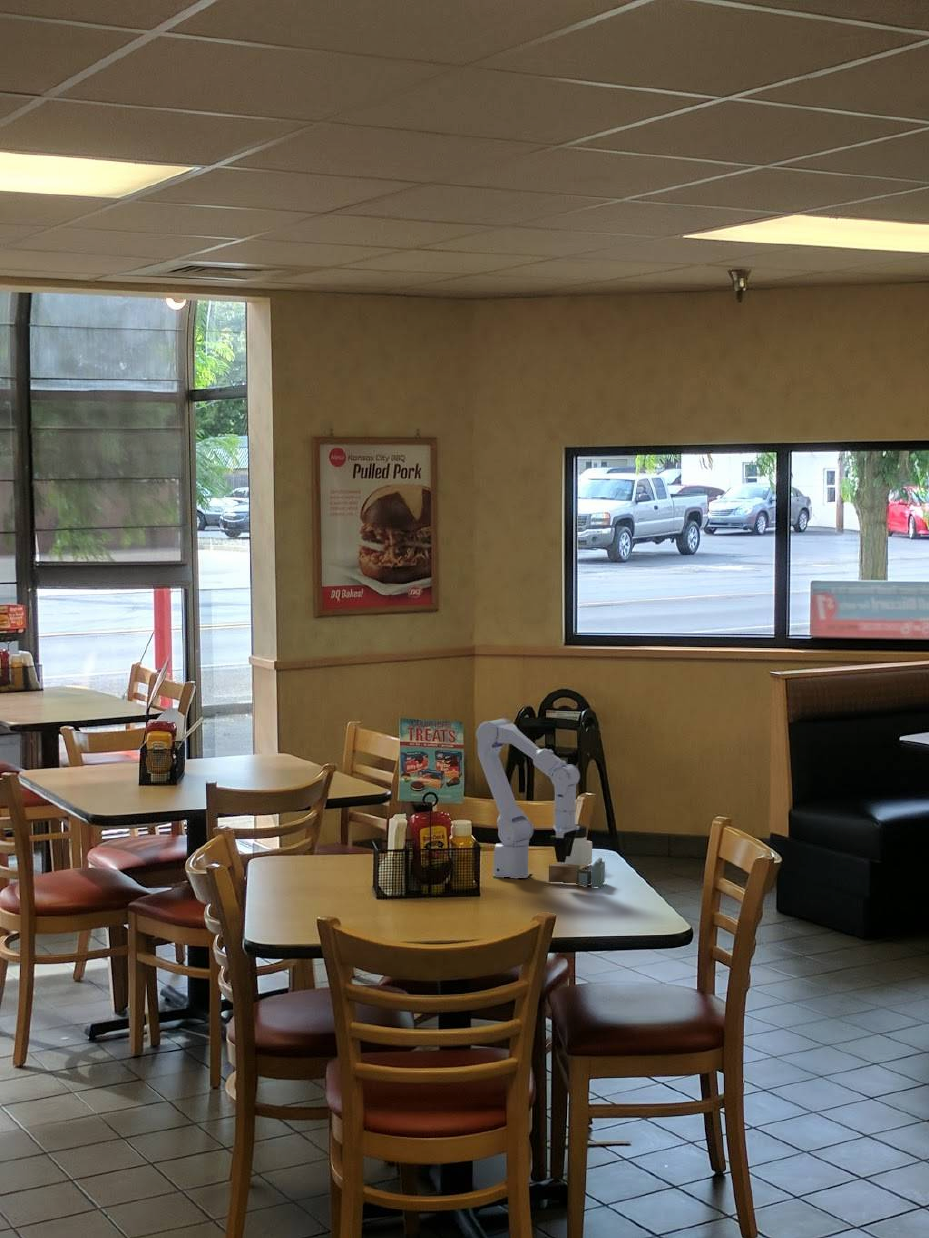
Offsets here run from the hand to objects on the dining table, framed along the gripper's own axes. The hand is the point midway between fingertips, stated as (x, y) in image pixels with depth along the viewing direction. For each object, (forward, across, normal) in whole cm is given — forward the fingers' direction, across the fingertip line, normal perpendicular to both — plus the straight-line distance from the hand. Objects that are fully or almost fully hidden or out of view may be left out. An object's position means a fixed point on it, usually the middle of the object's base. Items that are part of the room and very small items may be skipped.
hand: (563, 859), depth 398 cm
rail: (+7, 0, -2) cm, 7 cm away
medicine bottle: (+7, +22, +1) cm, 23 cm away
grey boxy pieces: (+7, 0, -8) cm, 10 cm away
